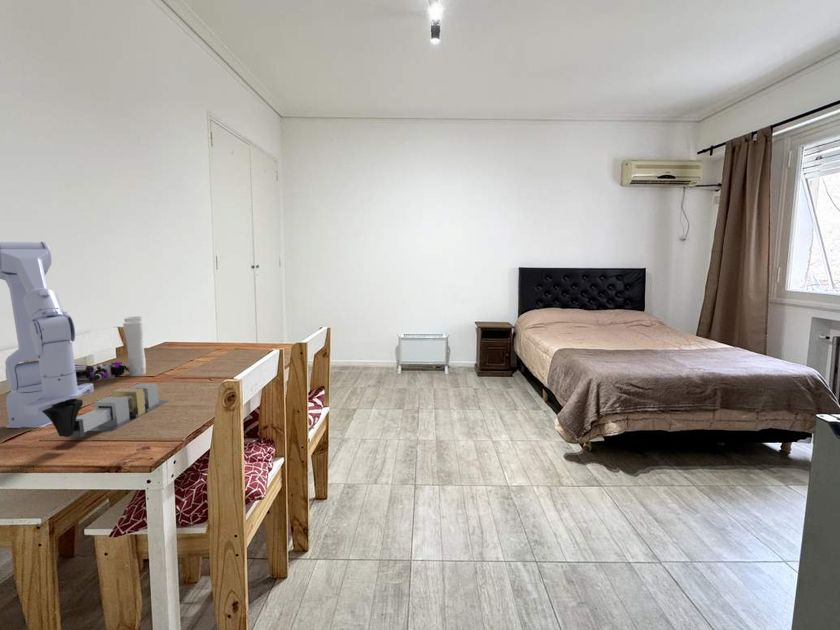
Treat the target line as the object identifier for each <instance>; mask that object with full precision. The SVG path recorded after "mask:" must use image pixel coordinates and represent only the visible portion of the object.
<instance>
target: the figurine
mask: <svg viewBox="0 0 840 630" xmlns="http://www.w3.org/2000/svg"><path fill="white" fill-rule="evenodd" d="M75 371H76V379H77V384H85V383H86V384H87V383H93V382H99V381H103V380H111V379H114V378H123V377H131V376H130V372H129V365H127V364H125V363H123V362H121V361H120V362H119V361H114V362H111V363H110V364H102V363H101V364H98V365H86V364H85V365H84V364H75ZM126 371H127V372H128V373H126ZM81 380H82V381H81Z"/></svg>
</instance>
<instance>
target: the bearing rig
mask: <svg viewBox="0 0 840 630" xmlns="http://www.w3.org/2000/svg"><path fill="white" fill-rule="evenodd" d="M128 388H132V389H143V393H144V403H145V413H144V414H142V415H140V416H138V414H129V407H128V398H127V397H113V396H106V397H103V398H101V399H99V400H96V401H94V410H95V409H97V408H99V407H101V406H112V412H113V419H111V420H109V421H107V422H105V423H103V424H101V425H99V426H97V427H94V428H92V429H90V430H88V431H87V432H114V431H115V430H117V429H119V428H121V427H123V426H125V425H127V424H129V423H130V422H132V421H134V420H136V419H138V418H139V417H142V416H144V415H146V414H147V413H150V412H151V411H153V410H155V409H157V408H158V407H160V406H163V405H164V404H167V403H168V402H169V400H163V399H162V400H161V399H160V397H159V386H158V383H153V382H152V383H149V382H148V383H144V382H143V383H141V382H139V383H136V384H134V385H132V386H129V387H128ZM159 399H160V400H159Z"/></svg>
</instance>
